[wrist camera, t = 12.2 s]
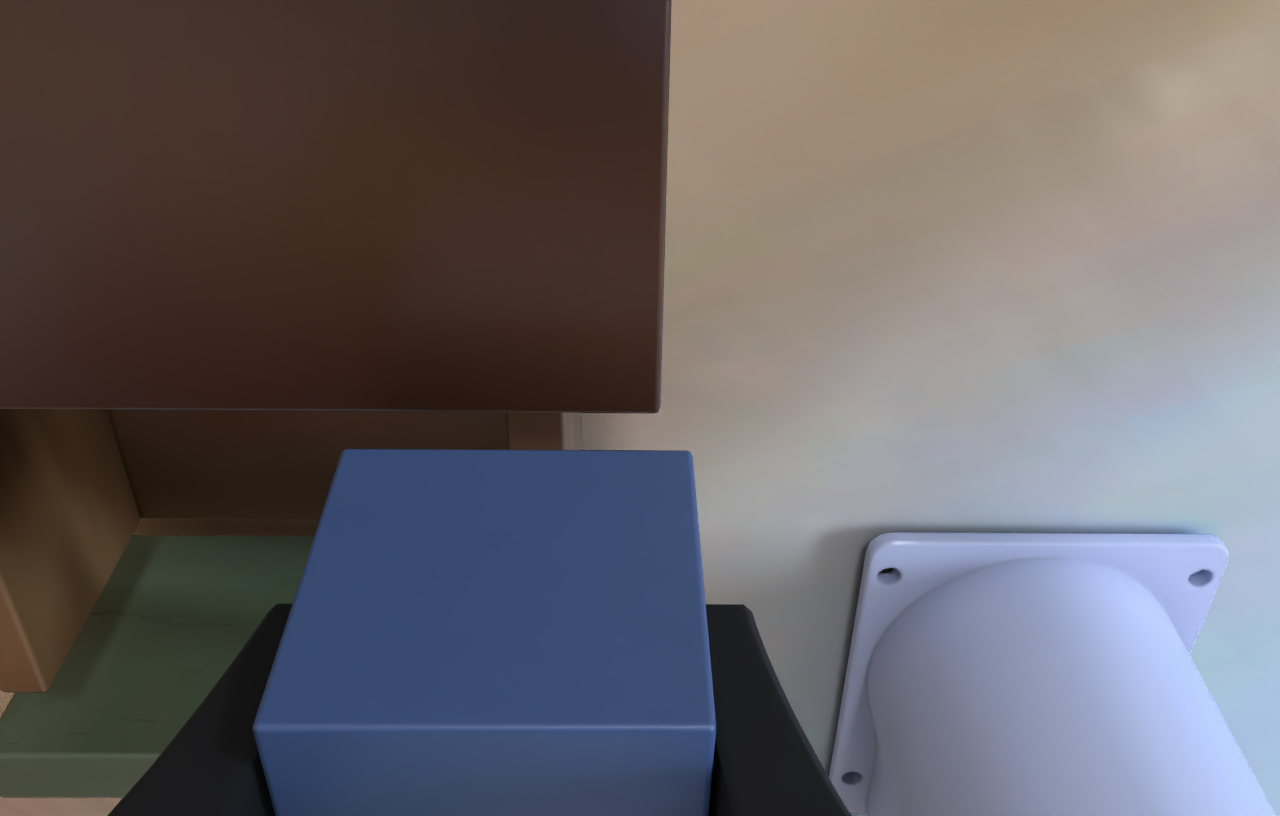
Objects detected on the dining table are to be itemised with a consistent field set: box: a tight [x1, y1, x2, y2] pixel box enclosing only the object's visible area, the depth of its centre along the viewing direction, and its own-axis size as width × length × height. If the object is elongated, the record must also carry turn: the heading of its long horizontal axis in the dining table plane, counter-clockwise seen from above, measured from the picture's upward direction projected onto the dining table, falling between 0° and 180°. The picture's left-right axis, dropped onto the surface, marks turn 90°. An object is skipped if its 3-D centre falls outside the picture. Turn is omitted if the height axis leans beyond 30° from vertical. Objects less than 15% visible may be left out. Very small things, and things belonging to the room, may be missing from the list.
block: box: [252, 449, 716, 816], centre depth 13 cm, size 4×4×4 cm
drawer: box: [0, 409, 582, 798], centre depth 20 cm, size 17×11×6 cm, turn 179°
